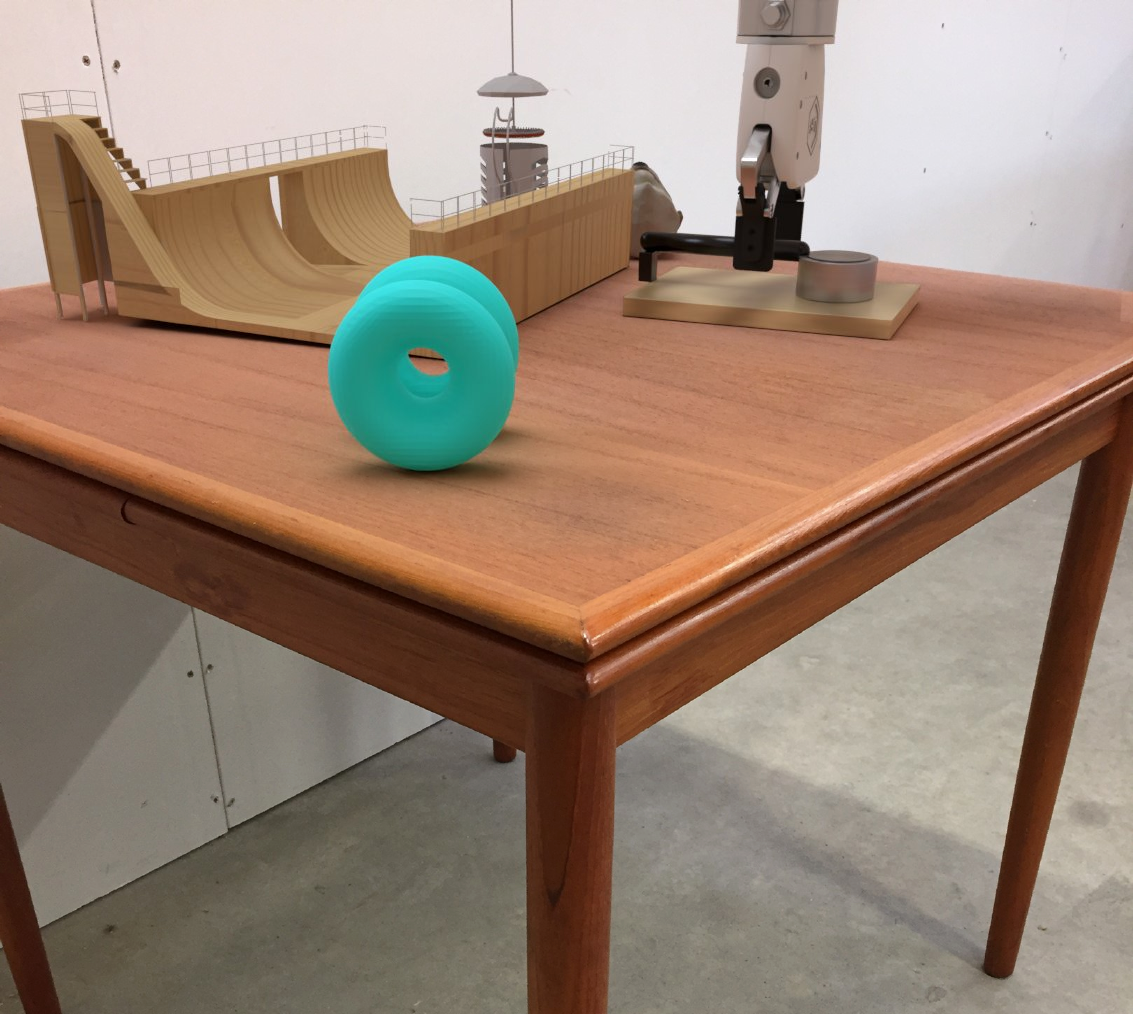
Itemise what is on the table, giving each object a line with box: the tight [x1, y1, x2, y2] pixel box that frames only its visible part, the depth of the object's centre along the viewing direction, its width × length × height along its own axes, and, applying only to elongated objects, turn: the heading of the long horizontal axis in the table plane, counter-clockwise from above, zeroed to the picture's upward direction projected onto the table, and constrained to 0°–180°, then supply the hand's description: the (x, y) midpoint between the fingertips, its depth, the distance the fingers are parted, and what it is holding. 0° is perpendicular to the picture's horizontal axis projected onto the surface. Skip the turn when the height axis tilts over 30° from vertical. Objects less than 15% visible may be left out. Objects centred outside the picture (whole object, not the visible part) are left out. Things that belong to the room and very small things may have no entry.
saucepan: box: [637, 231, 879, 303], centre depth 103 cm, size 20×6×4 cm, turn 68°
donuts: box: [327, 256, 520, 472], centre depth 69 cm, size 10×10×10 cm
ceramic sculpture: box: [628, 161, 684, 259], centre depth 126 cm, size 11×9×15 cm
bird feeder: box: [476, 0, 550, 207], centre depth 137 cm, size 10×12×25 cm
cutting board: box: [622, 265, 922, 341], centre depth 104 cm, size 22×15×2 cm
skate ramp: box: [18, 89, 635, 360], centre depth 106 cm, size 40×35×16 cm
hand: (767, 260), depth 102 cm, fingers open, 9 cm apart
